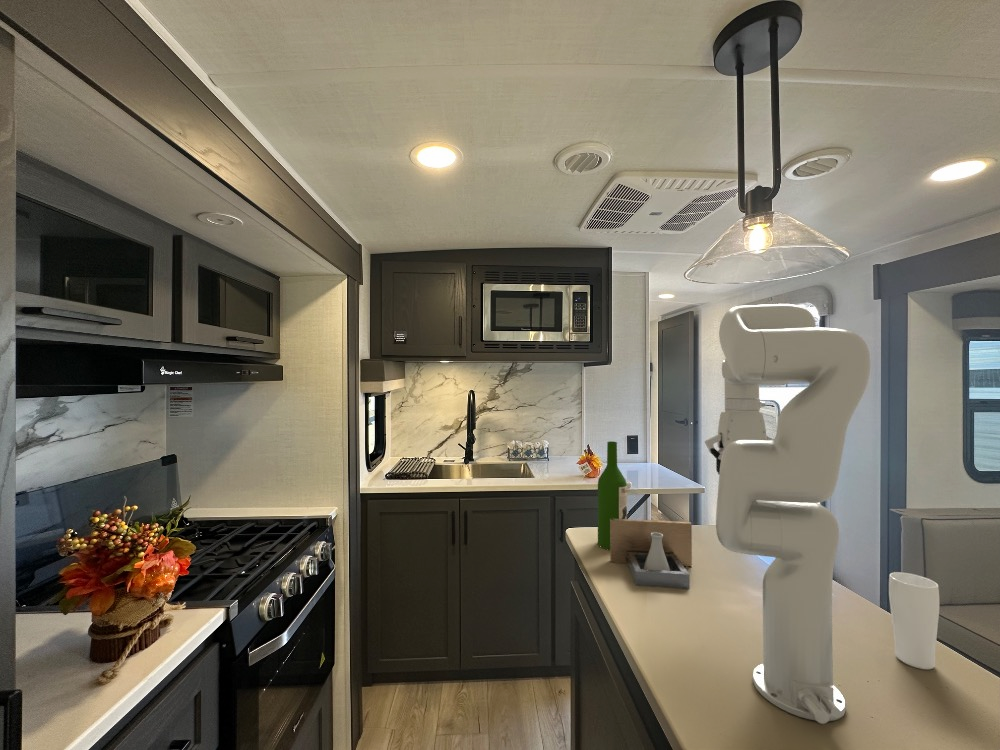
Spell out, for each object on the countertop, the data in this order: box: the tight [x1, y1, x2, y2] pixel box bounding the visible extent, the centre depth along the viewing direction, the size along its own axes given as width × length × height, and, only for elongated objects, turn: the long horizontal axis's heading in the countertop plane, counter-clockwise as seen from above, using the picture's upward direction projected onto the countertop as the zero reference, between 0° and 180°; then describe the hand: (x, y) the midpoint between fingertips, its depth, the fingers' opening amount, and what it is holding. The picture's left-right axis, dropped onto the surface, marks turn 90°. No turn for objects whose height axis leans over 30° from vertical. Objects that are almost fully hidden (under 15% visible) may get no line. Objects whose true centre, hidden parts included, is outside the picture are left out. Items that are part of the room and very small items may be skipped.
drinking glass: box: [888, 571, 940, 670], centre depth 81 cm, size 7×7×15 cm
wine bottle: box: [597, 441, 628, 550], centre depth 139 cm, size 9×9×32 cm
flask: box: [643, 532, 670, 571], centre depth 116 cm, size 7×7×10 cm
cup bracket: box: [609, 518, 693, 589], centre depth 118 cm, size 15×22×12 cm
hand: (742, 475), depth 108 cm, fingers open, 9 cm apart
